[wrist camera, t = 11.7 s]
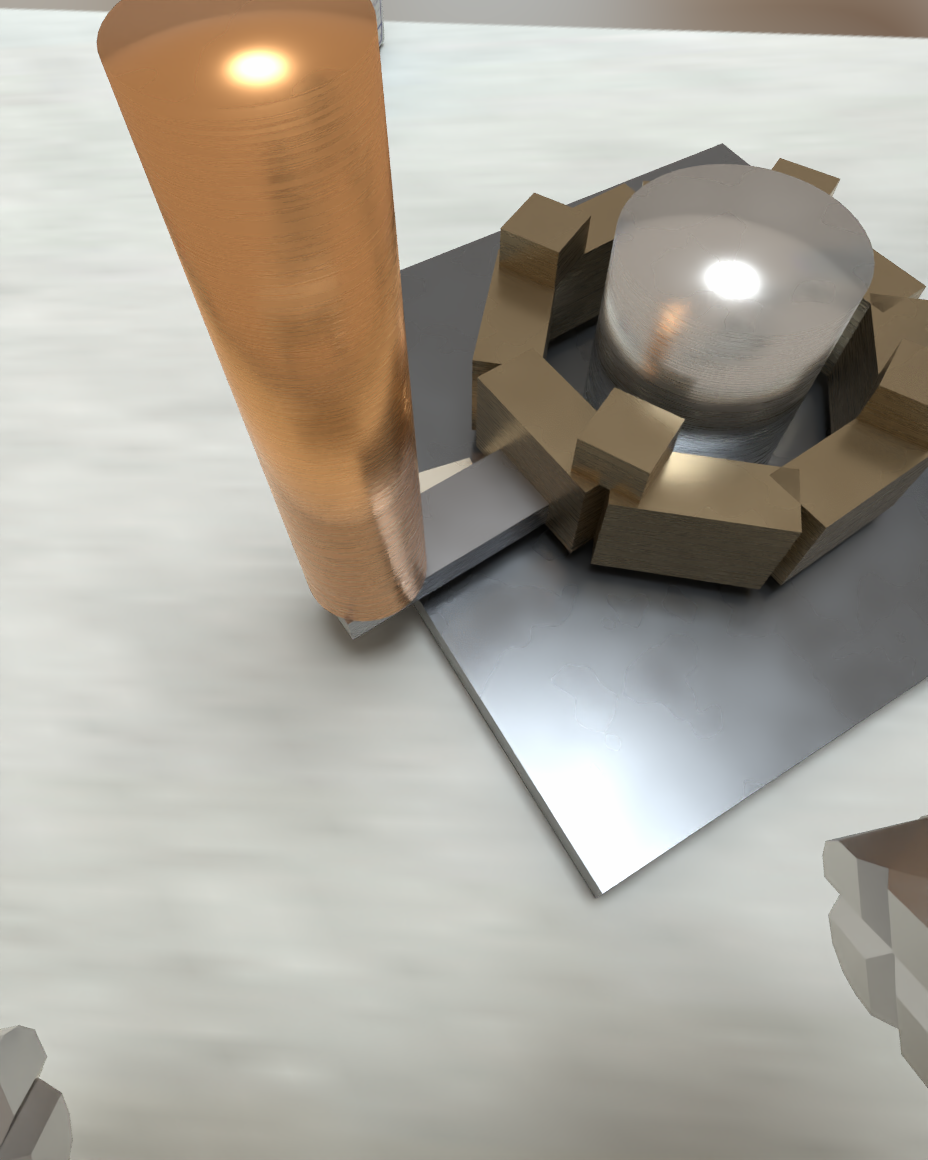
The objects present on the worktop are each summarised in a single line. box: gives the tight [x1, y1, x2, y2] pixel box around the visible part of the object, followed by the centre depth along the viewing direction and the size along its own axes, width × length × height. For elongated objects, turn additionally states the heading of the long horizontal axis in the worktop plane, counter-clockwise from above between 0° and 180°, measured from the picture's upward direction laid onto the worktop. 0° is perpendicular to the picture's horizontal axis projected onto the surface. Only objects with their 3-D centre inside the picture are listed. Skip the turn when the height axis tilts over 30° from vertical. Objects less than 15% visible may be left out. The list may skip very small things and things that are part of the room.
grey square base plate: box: [400, 143, 928, 898], centre depth 21 cm, size 20×20×7 cm
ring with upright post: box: [97, 0, 928, 640], centre depth 16 cm, size 19×12×13 cm, turn 125°
